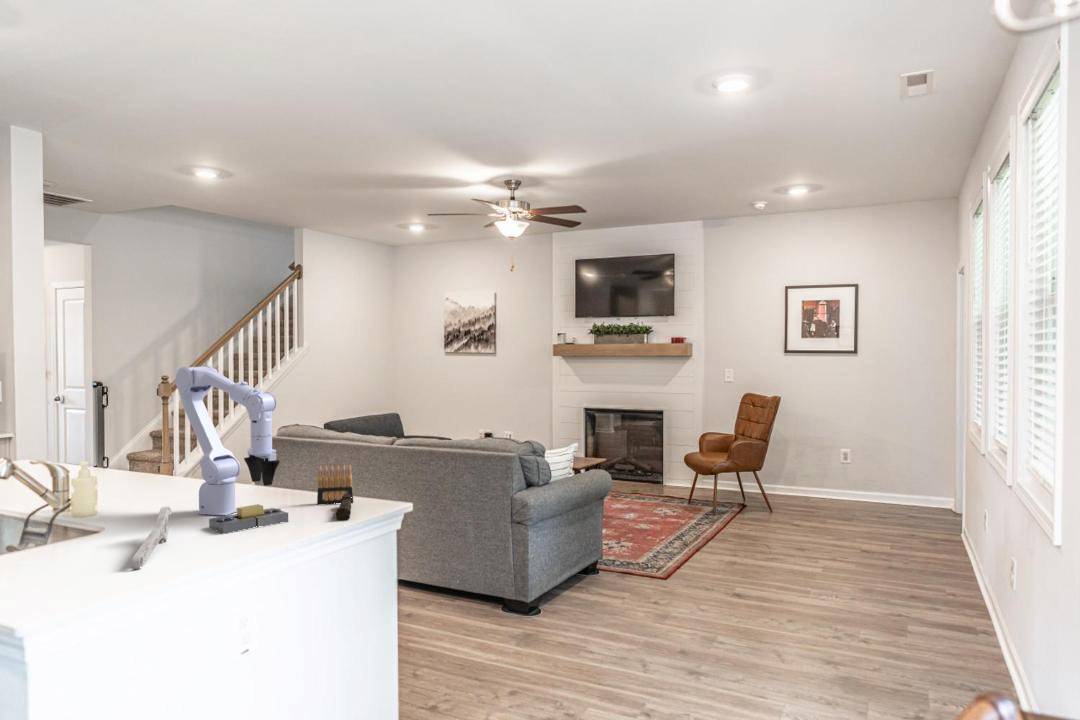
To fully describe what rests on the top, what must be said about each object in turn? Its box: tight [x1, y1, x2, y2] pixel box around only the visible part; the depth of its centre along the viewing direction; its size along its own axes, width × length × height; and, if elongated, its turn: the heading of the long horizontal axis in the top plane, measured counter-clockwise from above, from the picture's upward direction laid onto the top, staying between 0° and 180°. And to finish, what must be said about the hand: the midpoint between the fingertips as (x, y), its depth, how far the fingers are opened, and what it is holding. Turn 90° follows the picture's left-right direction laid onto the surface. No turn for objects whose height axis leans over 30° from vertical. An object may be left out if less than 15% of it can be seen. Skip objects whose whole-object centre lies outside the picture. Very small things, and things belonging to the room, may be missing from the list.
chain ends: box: [208, 507, 289, 534], centre depth 205 cm, size 18×9×3 cm, turn 136°
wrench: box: [131, 506, 172, 570], centre depth 179 cm, size 8×2×30 cm
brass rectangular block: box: [236, 503, 264, 519], centre depth 205 cm, size 6×3×5 cm, turn 136°
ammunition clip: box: [316, 463, 354, 505], centre depth 232 cm, size 11×2×12 cm, turn 102°
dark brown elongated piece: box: [335, 493, 352, 522], centre depth 219 cm, size 19×4×5 cm, turn 8°
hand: (261, 483), depth 214 cm, fingers open, 7 cm apart
